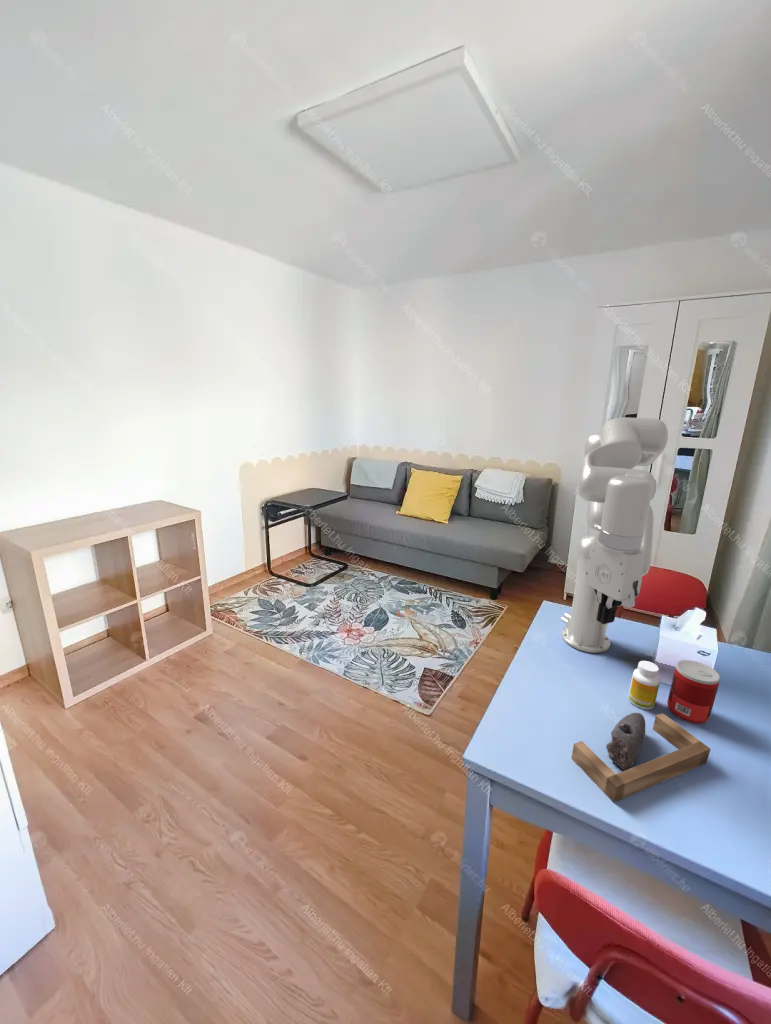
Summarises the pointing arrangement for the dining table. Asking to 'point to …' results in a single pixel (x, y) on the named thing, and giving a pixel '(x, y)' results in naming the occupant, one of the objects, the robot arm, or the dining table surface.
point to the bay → (647, 773)
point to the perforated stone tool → (627, 740)
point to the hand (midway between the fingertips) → (605, 621)
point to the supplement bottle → (644, 685)
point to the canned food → (693, 691)
